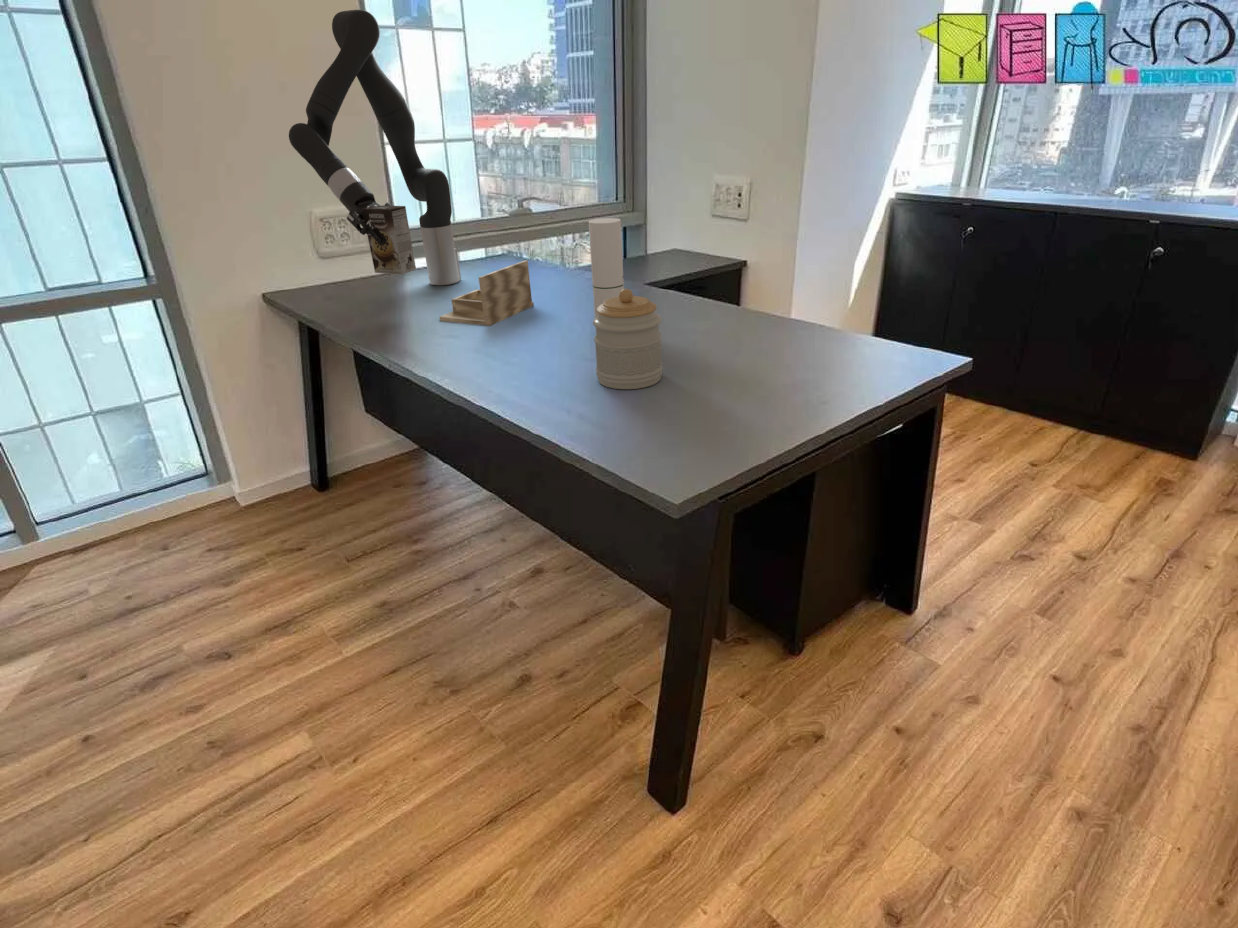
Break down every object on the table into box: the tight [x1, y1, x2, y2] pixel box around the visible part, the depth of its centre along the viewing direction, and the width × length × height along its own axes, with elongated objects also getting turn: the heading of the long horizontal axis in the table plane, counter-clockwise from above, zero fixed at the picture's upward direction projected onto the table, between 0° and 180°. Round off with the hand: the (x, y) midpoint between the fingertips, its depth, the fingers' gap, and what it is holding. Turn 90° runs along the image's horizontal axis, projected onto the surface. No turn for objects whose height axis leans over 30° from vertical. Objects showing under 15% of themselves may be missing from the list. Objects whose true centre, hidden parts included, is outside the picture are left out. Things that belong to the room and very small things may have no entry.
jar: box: [592, 288, 664, 390], centre depth 138 cm, size 13×13×18 cm
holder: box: [438, 260, 535, 327], centre depth 189 cm, size 20×16×12 cm
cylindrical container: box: [588, 217, 625, 319], centre depth 166 cm, size 7×7×25 cm
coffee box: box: [362, 205, 417, 275], centre depth 186 cm, size 9×6×16 cm
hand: (394, 240), depth 185 cm, fingers closed on coffee box, 6 cm apart
